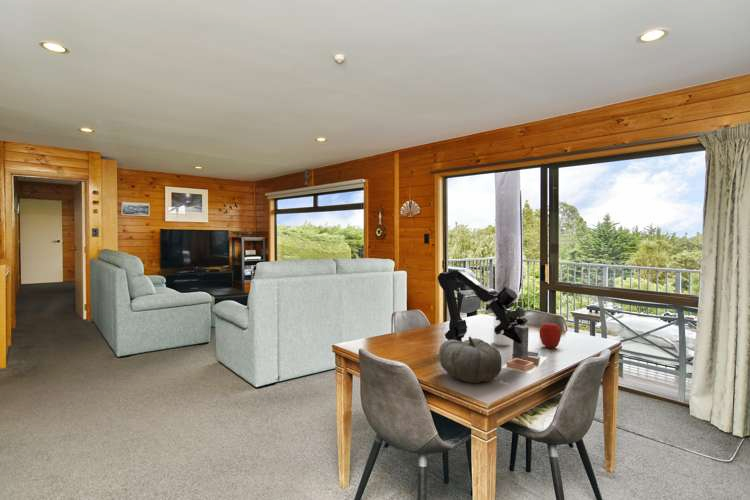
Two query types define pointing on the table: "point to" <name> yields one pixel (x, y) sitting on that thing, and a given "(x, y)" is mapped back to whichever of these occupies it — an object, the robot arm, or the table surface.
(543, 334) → the apple
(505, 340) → the mug
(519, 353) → the peg
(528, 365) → the collar
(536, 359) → the plate
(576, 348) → the table surface
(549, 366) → the table surface
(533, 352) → the collar
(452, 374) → the gourd
